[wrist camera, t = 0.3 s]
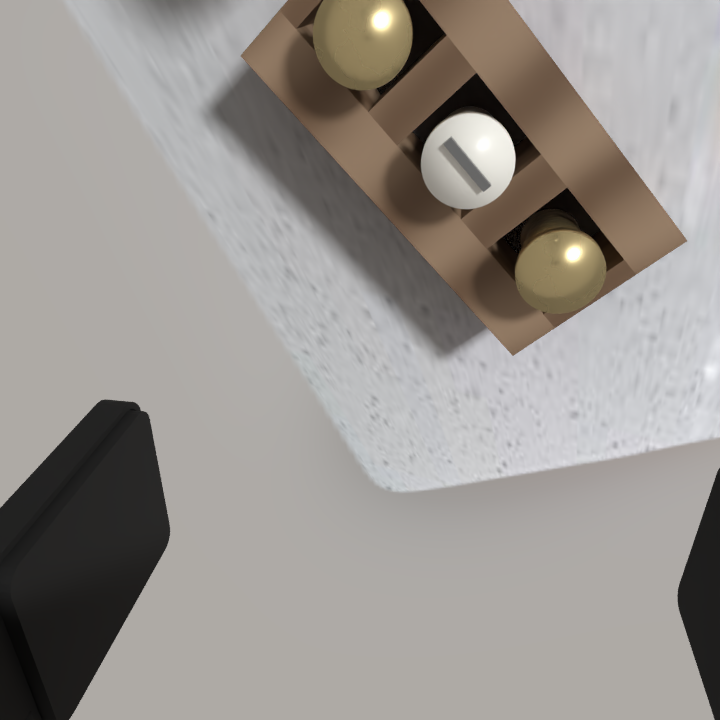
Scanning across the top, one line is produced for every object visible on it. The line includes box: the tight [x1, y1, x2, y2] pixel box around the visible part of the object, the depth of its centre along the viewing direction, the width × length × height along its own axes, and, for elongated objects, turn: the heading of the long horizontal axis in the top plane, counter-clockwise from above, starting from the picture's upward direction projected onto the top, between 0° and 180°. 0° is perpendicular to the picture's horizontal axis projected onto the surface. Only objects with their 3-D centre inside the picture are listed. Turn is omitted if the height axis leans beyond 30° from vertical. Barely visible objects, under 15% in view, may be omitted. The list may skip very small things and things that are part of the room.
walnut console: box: [241, 0, 687, 355], centre depth 39 cm, size 24×12×6 cm, turn 44°
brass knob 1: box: [313, 0, 413, 90], centre depth 34 cm, size 5×5×6 cm
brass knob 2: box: [515, 209, 606, 314], centre depth 39 cm, size 5×5×6 cm
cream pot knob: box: [421, 106, 515, 209], centre depth 36 cm, size 5×5×6 cm
